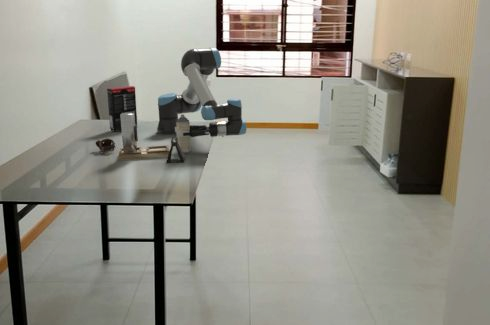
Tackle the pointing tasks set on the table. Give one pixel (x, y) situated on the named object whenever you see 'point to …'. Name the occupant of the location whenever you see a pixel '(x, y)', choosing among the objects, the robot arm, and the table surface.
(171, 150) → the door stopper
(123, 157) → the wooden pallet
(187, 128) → the aerosol can
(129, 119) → the metal canister
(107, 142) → the brown curved piece
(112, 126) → the graphics card box
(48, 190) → the table surface
